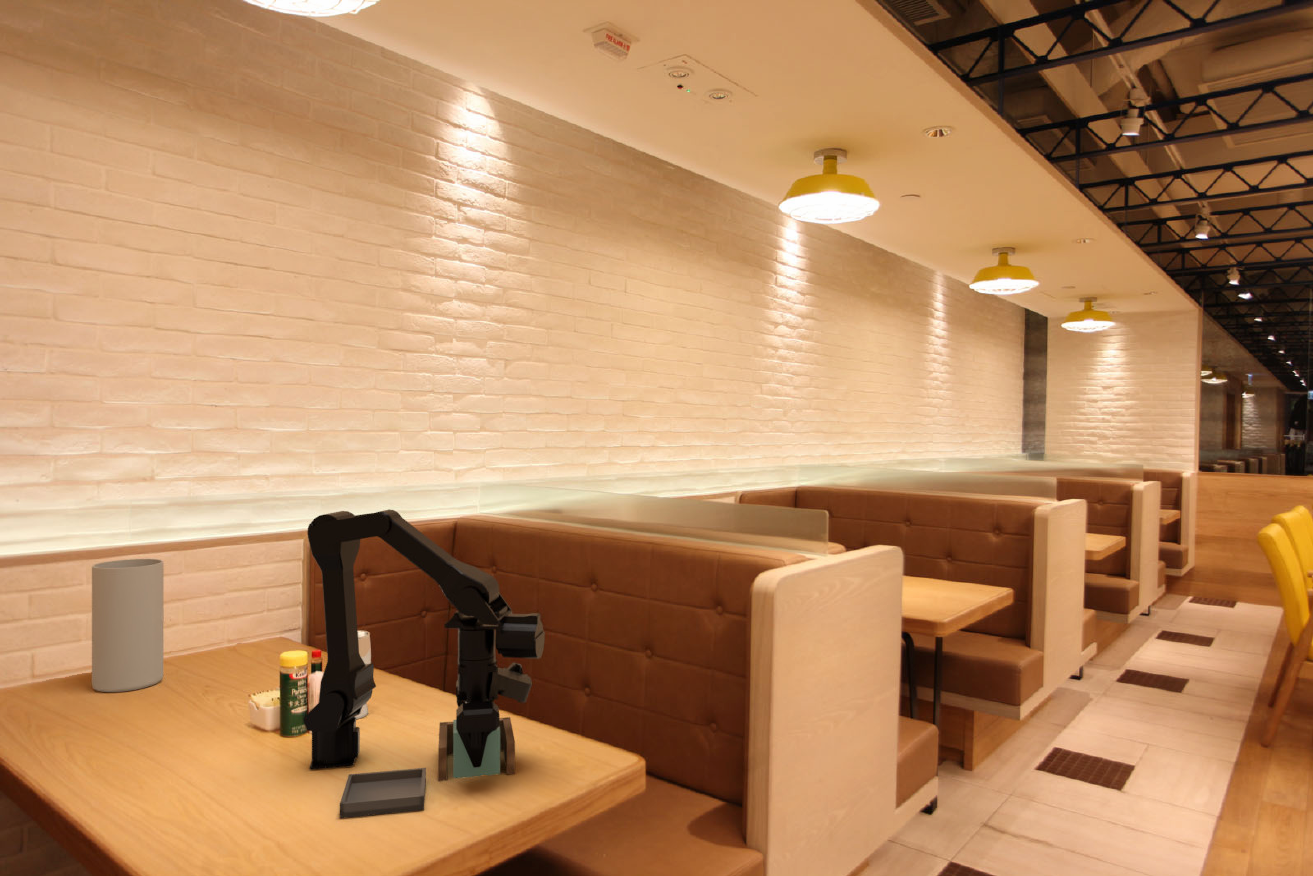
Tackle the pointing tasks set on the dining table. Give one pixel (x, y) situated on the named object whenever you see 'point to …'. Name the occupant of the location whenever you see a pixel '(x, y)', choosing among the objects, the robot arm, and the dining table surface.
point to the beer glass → (366, 657)
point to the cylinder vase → (127, 624)
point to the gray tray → (383, 793)
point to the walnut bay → (447, 746)
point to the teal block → (489, 761)
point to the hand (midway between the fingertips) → (476, 755)
